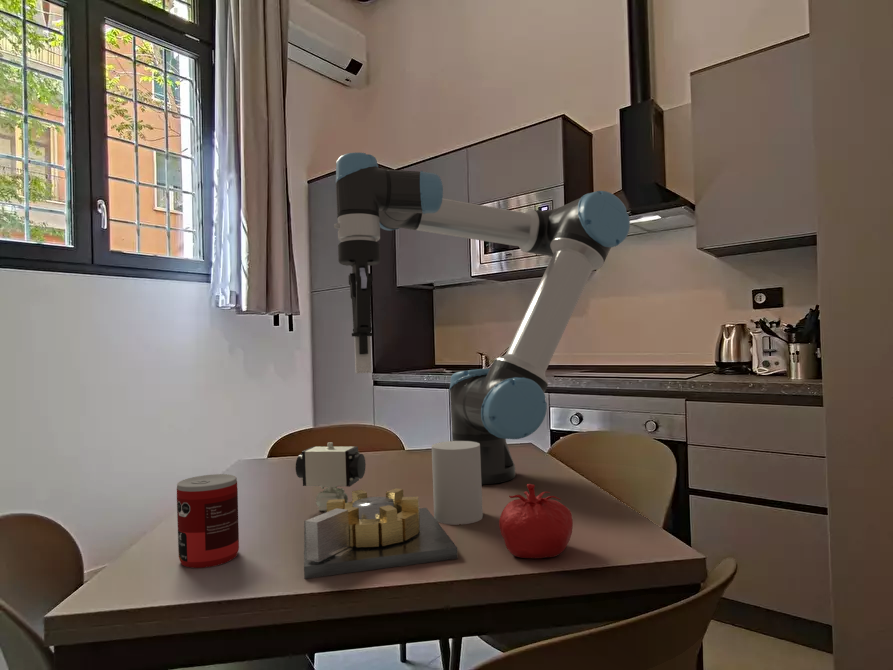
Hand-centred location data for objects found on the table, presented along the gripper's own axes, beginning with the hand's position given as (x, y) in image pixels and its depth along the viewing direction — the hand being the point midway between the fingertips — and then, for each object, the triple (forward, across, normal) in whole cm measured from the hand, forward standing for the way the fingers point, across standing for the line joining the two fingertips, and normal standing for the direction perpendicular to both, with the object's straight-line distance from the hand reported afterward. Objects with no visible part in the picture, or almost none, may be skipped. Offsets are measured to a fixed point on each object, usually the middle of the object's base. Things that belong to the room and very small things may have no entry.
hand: (363, 372), depth 102 cm
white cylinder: (+25, +10, +14) cm, 30 cm away
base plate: (+24, +18, -1) cm, 30 cm away
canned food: (+25, +16, -24) cm, 38 cm away
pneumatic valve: (+25, -3, -6) cm, 26 cm away
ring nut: (+23, +20, -3) cm, 30 cm away
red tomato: (+25, +29, +20) cm, 43 cm away
